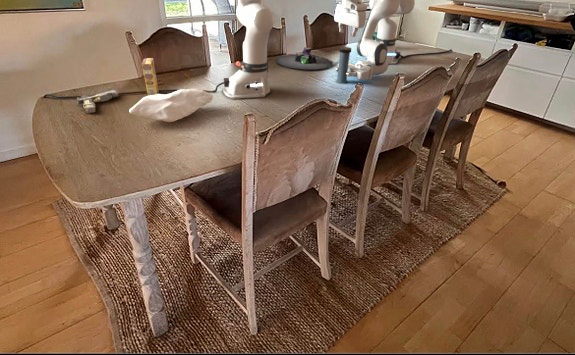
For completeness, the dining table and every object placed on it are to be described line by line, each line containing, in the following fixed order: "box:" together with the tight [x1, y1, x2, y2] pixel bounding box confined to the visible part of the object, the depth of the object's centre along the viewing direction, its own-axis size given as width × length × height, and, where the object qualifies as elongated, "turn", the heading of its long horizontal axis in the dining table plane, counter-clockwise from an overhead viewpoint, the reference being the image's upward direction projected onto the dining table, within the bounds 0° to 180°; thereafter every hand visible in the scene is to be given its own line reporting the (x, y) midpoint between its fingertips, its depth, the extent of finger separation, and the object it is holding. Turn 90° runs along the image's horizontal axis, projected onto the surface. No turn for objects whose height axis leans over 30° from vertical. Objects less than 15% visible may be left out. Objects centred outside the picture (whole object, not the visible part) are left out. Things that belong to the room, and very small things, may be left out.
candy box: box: [141, 57, 160, 96], centre depth 163 cm, size 9×4×15 cm, turn 13°
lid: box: [338, 46, 352, 54], centre depth 184 cm, size 6×6×2 cm
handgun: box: [76, 89, 120, 114], centre depth 155 cm, size 3×18×15 cm
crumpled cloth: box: [129, 88, 214, 123], centre depth 147 cm, size 24×35×9 cm
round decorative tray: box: [275, 46, 334, 71], centre depth 220 cm, size 35×35×9 cm
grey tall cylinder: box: [336, 51, 351, 84], centre depth 189 cm, size 5×5×17 cm
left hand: (347, 34), depth 180 cm, fingers open, 8 cm apart
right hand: (341, 72), depth 190 cm, fingers open, 8 cm apart
